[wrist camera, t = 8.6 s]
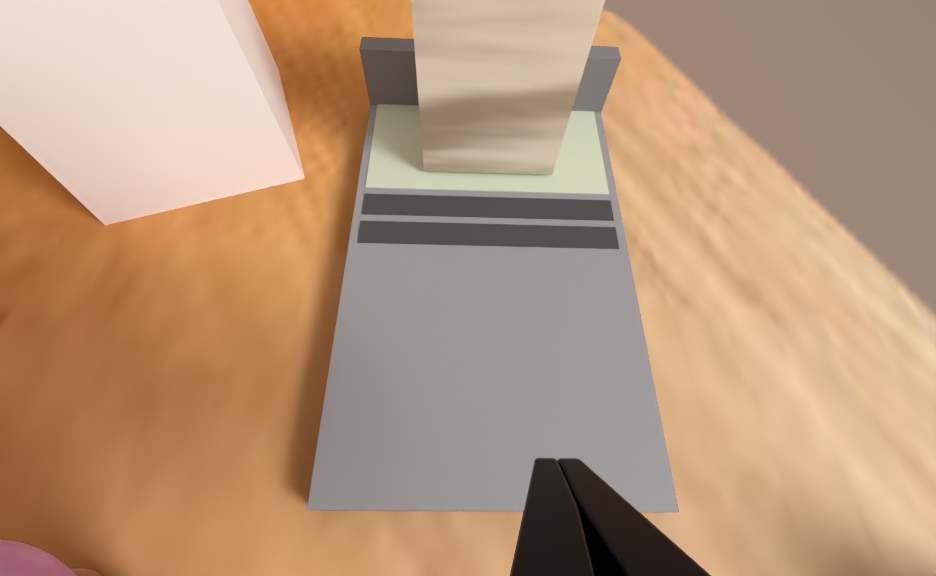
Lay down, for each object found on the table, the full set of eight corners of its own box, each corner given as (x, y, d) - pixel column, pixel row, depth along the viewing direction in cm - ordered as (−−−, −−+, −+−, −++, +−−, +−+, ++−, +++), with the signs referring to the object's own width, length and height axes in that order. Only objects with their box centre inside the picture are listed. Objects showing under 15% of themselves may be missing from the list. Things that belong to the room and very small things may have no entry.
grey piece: (663, 512, 20) (732, 512, 15) (316, 510, 20) (272, 509, 15) (592, 117, 32) (617, 46, 27) (375, 110, 32) (361, 37, 27)
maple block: (552, 174, 27) (618, -45, 16) (423, 171, 27) (406, -54, 16) (546, 118, 29) (600, -107, 19) (427, 114, 29) (414, -116, 18)
